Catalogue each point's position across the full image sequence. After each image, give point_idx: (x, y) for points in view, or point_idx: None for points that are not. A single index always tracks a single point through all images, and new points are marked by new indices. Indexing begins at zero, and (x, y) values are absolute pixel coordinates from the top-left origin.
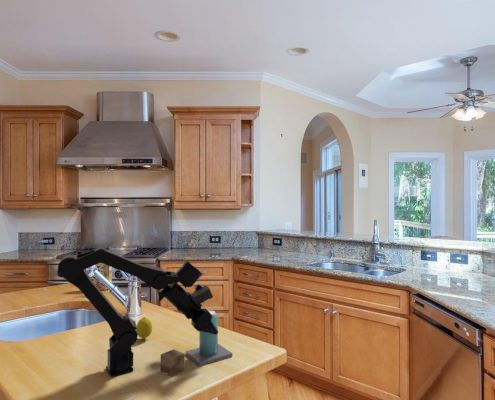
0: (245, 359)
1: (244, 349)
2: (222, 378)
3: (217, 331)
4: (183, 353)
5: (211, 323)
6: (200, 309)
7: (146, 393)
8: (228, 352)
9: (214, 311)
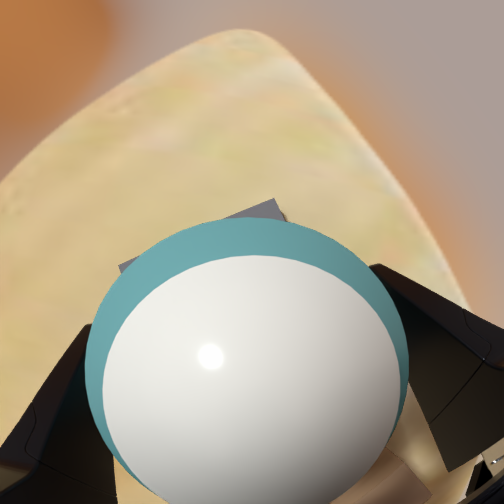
0: (311, 152)
1: (199, 135)
2: (451, 278)
3: (388, 271)
4: (401, 467)
5: (497, 336)
6: (29, 485)
7: (458, 489)
8: (260, 217)
9: (191, 271)
